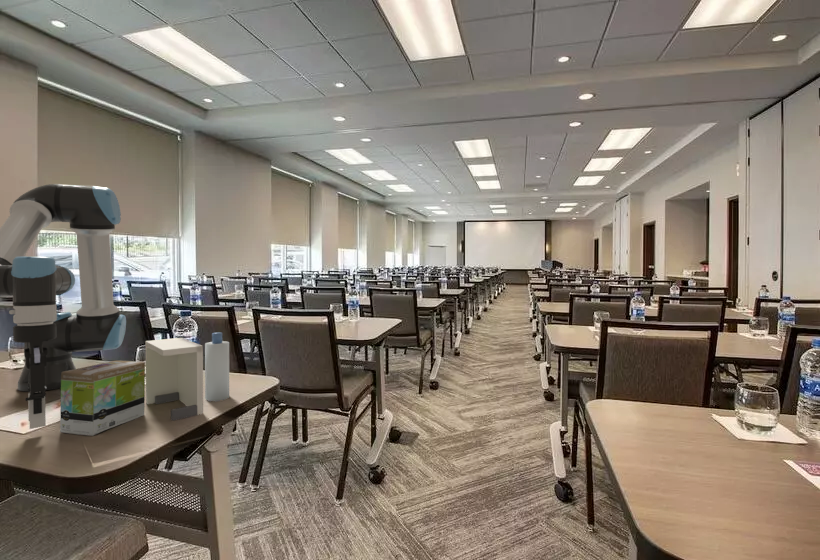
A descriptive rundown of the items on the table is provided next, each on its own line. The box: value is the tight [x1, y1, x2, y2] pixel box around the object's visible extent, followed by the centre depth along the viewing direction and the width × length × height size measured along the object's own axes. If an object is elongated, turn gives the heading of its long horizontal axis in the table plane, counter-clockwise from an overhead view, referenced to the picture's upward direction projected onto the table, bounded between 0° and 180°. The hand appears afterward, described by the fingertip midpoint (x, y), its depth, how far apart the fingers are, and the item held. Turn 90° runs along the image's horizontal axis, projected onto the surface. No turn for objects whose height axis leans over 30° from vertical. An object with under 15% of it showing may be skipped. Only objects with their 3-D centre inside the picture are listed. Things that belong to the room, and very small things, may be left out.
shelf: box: [145, 337, 204, 416], centre depth 119 cm, size 19×10×18 cm, turn 43°
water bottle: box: [204, 331, 230, 402], centre depth 128 cm, size 7×7×20 cm
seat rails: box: [154, 392, 198, 421], centre depth 119 cm, size 18×6×2 cm, turn 43°
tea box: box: [59, 359, 146, 437], centre depth 107 cm, size 15×10×15 cm
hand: (36, 423), depth 99 cm, fingers open, 6 cm apart
